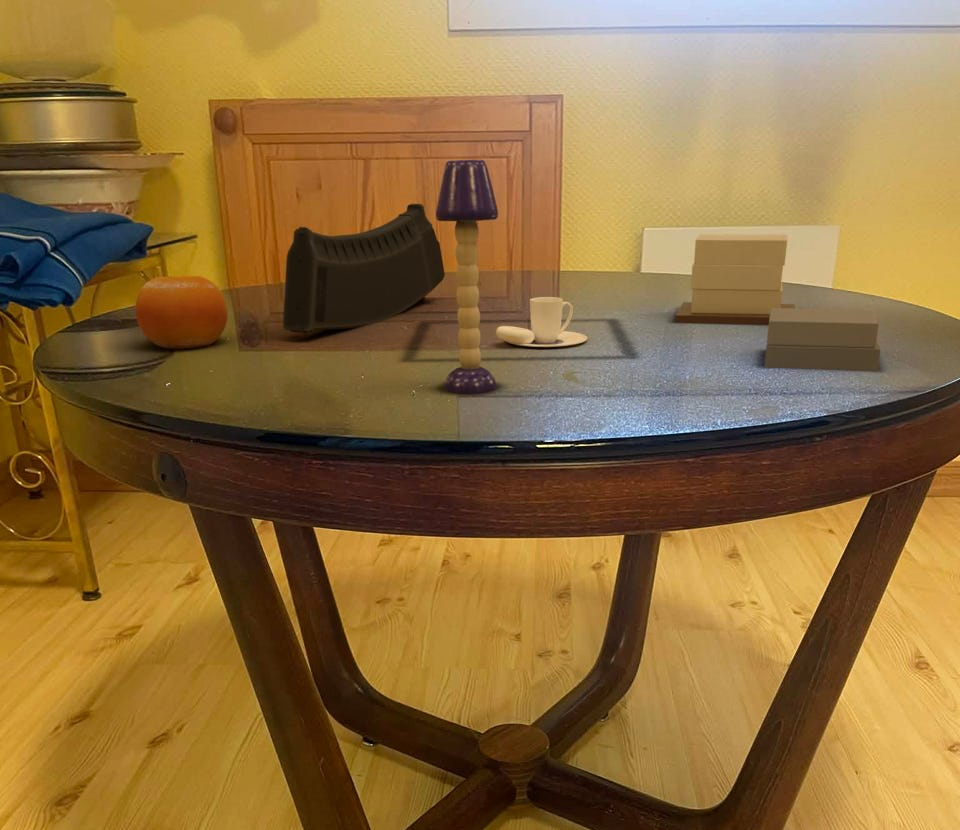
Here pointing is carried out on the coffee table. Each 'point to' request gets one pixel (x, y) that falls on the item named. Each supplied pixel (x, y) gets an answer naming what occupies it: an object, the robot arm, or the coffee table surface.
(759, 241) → the tan flat block
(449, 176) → the toy lamp
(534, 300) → the teacup and saucer
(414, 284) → the magazine
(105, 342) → the coffee table surface
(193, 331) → the fruit
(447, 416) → the coffee table surface
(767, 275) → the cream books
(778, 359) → the brown rectangular block
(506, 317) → the coffee table surface
